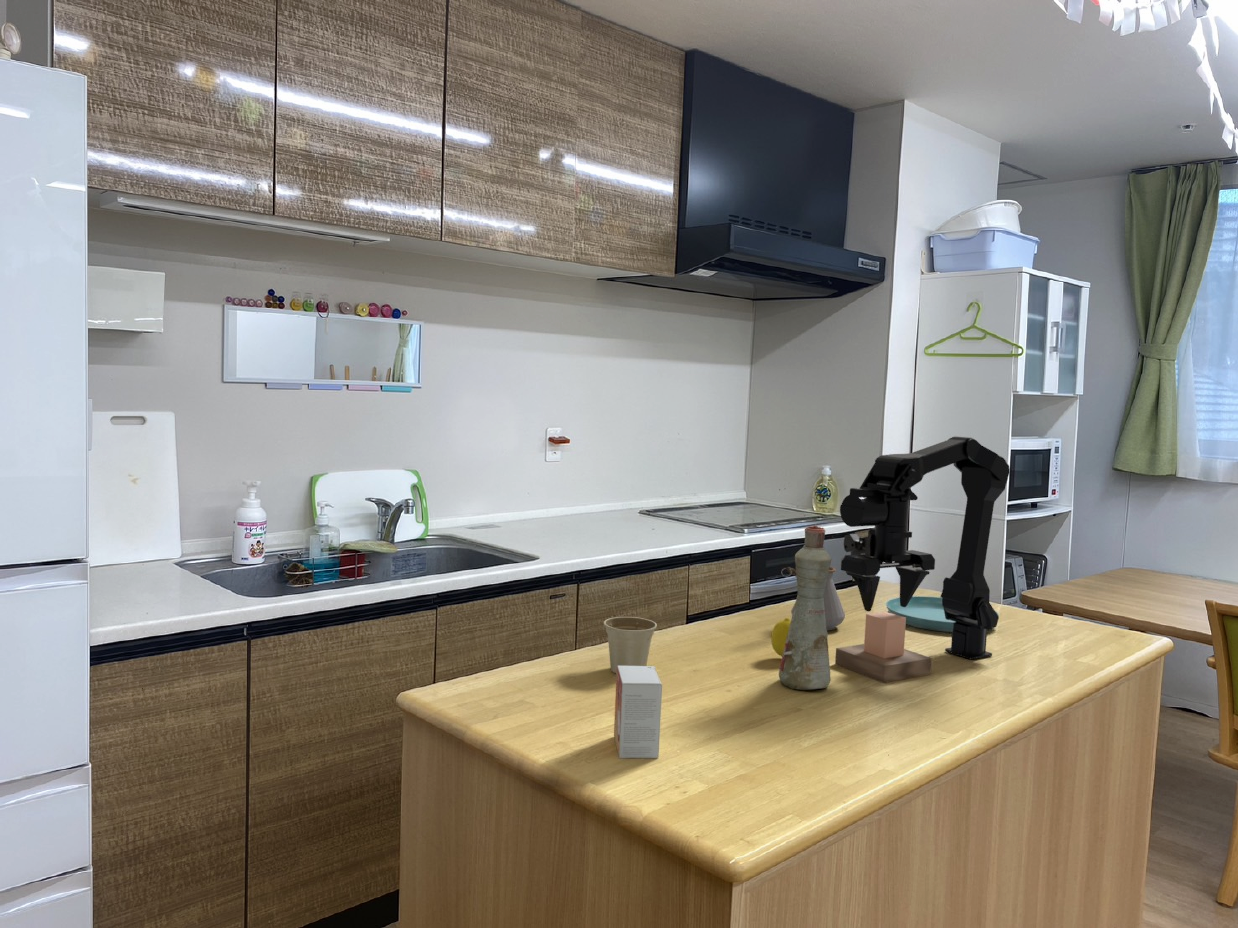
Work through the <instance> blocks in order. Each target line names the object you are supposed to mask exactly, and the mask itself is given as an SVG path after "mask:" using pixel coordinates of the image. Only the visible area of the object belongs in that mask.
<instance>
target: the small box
mask: <svg viewBox="0 0 1238 928" xmlns="http://www.w3.org/2000/svg"><path fill="white" fill-rule="evenodd" d="M615 678H616V679H615V700H614V701H615V702H614V719H613V720H614V724H613V726H614V727H613V738H614V740H615V745H616V750H617V751H616V752H617V754H618V759H659V758H660V757H659V756H660V754H659V753H660V735H661V717H662V701H663V700H662V697H663V683H662V682H661V679H660V677H659V675H658V673H657V670H656V666H652V665H646V666H617V674H616V677H615Z"/></svg>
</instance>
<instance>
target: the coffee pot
mask: <svg viewBox="0 0 1238 928" xmlns="http://www.w3.org/2000/svg"><path fill="white" fill-rule="evenodd" d="M784 570H786V571H788V572H789V575H786V576H785V575H784V574H783V571H784ZM836 571H837V569H836V568H835V567H831V566H830V567H829V573H828V577H827V582H826V586H825V591H824V595H823V599H824V609H825V619H826V630H827V631H833V630H835V629H836V627H837V626H839V625H841V624H842V623H843V622H844V620H845V618H846V617H845V616H846V614H845V611H844V607H843V605H842V602H841V599H840V597H839V594H838V591H837V589H836V585H835V584H834V580H833V576H834V573H835V572H836ZM781 575H782V576H783V577H786V578H787V577H790V576H791V575H793V576H794V577H795V578H796V576H797V574H796V568H793V567H790V566H787V567H784V568H782V569H781ZM795 603H796V601H795ZM795 603H794V604H793V606H792V608H791V615H792V614H793V611H794V607H795Z"/></svg>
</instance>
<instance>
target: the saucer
mask: <svg viewBox="0 0 1238 928" xmlns="http://www.w3.org/2000/svg"><path fill="white" fill-rule="evenodd" d="M885 606H886V608H887V610H888V613H892V614H895V615H899V616H902V617H905V618H906V625H908V626H910V627H915V628H918V629H923V630H928V631H935V632H943V633H944V632H945V633H952V631H953V623H955V621H952V620H947V619H946V618H945V613H944V608H943V606H942V598H941V597H940V596H938V597H937V596H922V595H921V596H917V595H916V596H915V595H913V596H912V598H911V600H910V601H909V603H908V605H907V606H906V607H901V606H900V597H896V598H891V599H889V600H887V602H886V603H885ZM995 612H996V613H997V615H998V616H999V617H1000V615H999V612H998V611H996V610H995Z"/></svg>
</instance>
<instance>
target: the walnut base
mask: <svg viewBox="0 0 1238 928" xmlns="http://www.w3.org/2000/svg"><path fill="white" fill-rule="evenodd" d="M932 660H933V658H932V657H929V656H926V655H923V654H921V653H918V652H914V651H911V650H908V649H907V648H904V655H902V656H896V657H890V658H882V657H879V656H876V655H873V654H871V653H868V652H865V651H864V643H862V644H855V645H848V646H842V647H841V646H840V647H836V648H835V661H834V663H835V665H837V666H839V667H842V668H845V669H848V670H850V671H852V672H856V673H858V674H860V675H862V676H866V677H868V678H870V679H872V680H873V679H874V680H876V681H878V682H880V683H889V682H896V681H900V680H901V681H903V680H906V679H911V678H912V679H913V678H917V677H922V676H928V675H931V672H932Z"/></svg>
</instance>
